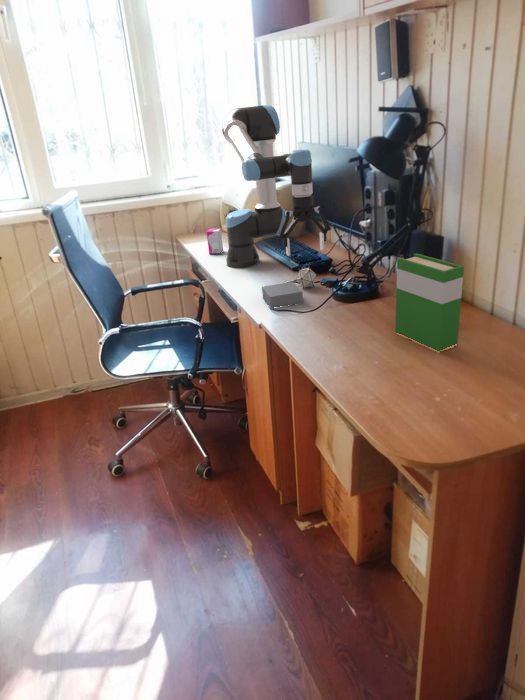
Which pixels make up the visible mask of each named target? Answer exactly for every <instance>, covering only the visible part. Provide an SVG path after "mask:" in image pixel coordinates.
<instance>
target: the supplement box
mask: <svg viewBox="0 0 525 700" xmlns="http://www.w3.org/2000/svg"><path fill="white" fill-rule="evenodd" d="M206 239H207V246H208V253H209V255H221V254H222V253H223V252H224V246H223V238H222V228H209V229H208V230H206ZM222 251H223V252H222ZM221 252H222V253H221ZM218 253H219V254H218ZM220 253H221V254H220Z"/></svg>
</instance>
